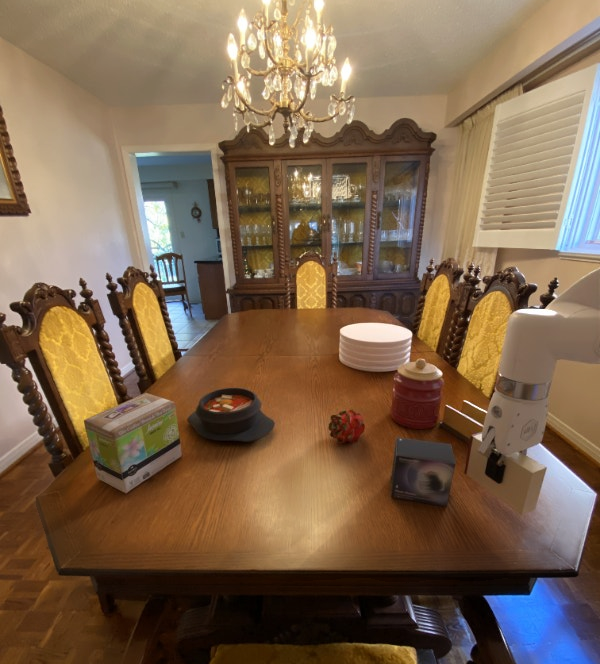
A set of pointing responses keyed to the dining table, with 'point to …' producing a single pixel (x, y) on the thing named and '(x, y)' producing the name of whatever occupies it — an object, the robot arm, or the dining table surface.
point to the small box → (422, 471)
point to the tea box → (133, 440)
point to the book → (508, 477)
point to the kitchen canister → (417, 395)
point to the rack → (463, 421)
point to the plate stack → (375, 346)
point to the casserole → (231, 416)
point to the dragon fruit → (346, 426)
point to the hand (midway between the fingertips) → (501, 474)
